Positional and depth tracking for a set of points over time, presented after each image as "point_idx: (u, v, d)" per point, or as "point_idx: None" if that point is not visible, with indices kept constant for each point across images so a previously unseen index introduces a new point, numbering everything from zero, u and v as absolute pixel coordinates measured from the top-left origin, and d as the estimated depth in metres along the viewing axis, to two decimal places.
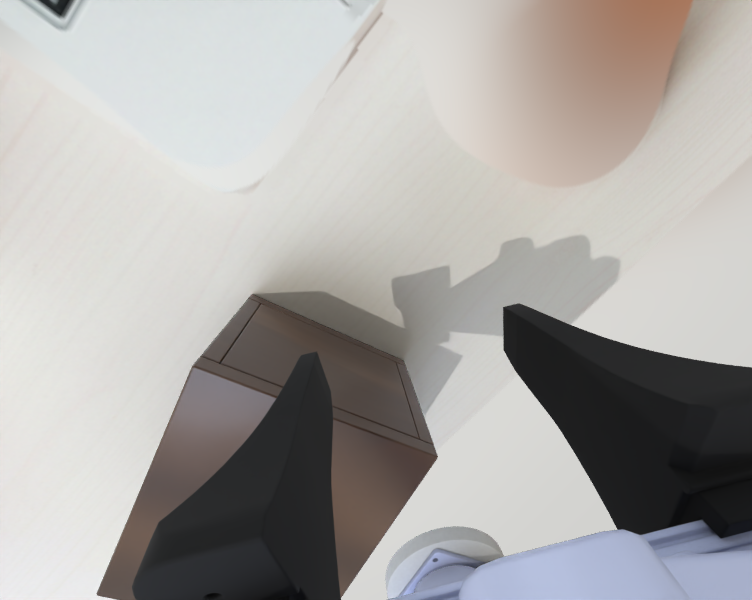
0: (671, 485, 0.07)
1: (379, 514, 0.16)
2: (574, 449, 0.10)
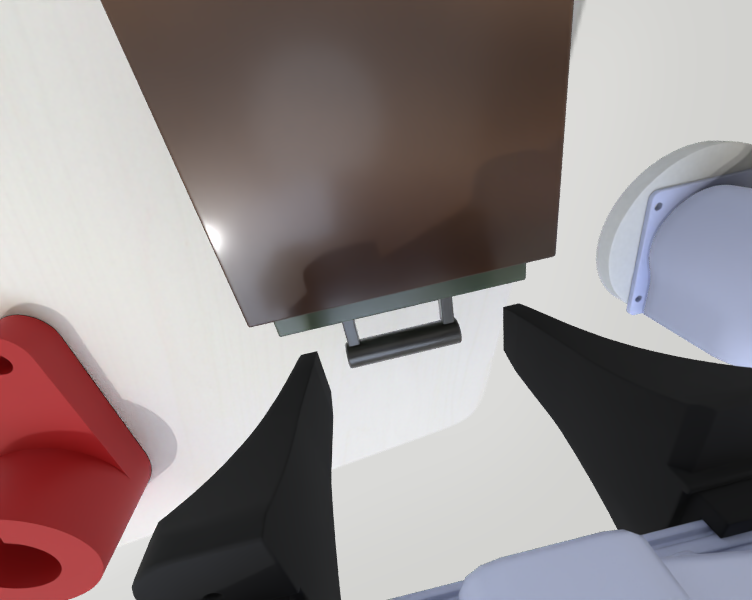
0: (671, 485, 0.07)
1: None
2: (574, 449, 0.10)
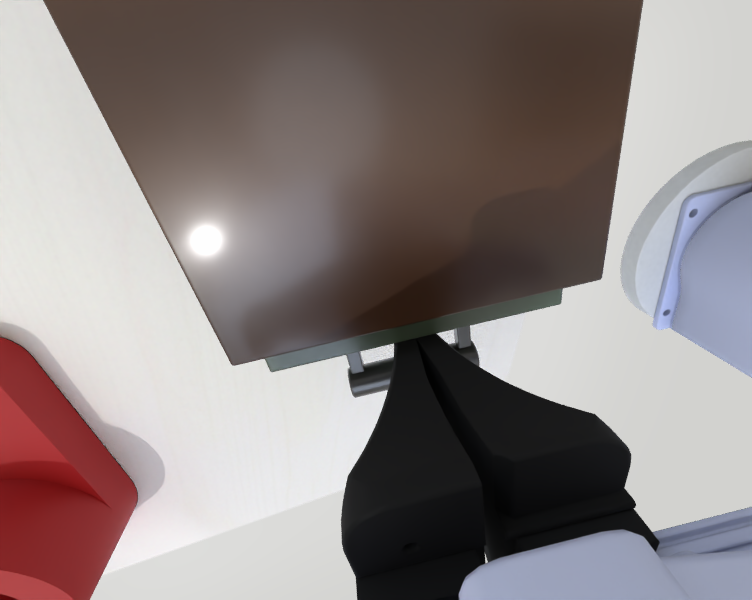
0: (499, 528, 0.07)
1: None
2: None
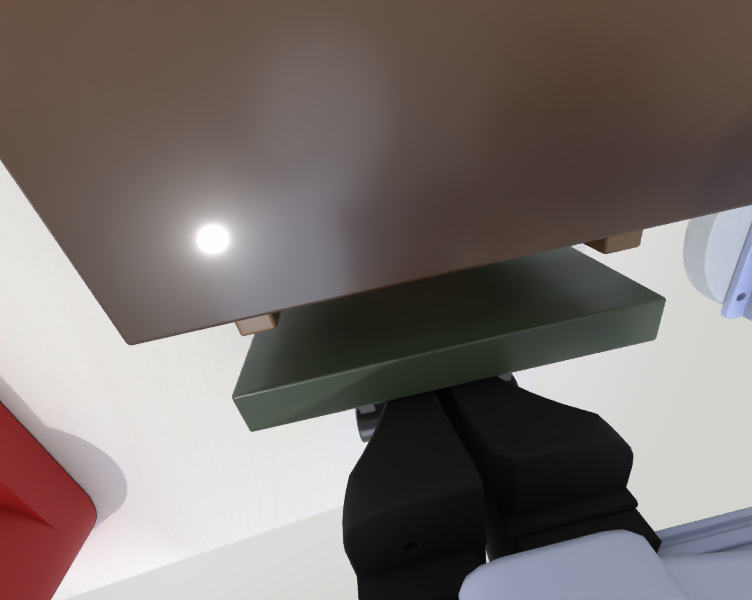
0: (501, 528, 0.07)
1: None
2: None
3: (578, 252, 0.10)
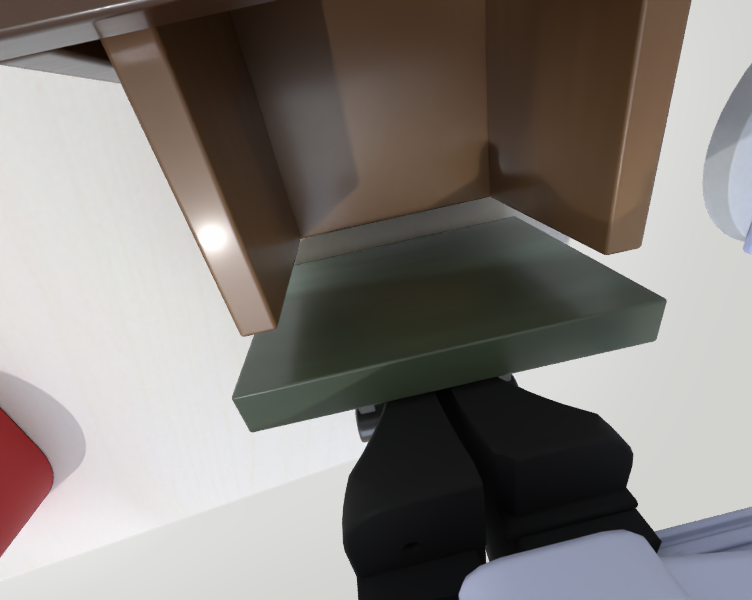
0: (501, 528, 0.07)
1: None
2: None
3: (579, 252, 0.10)
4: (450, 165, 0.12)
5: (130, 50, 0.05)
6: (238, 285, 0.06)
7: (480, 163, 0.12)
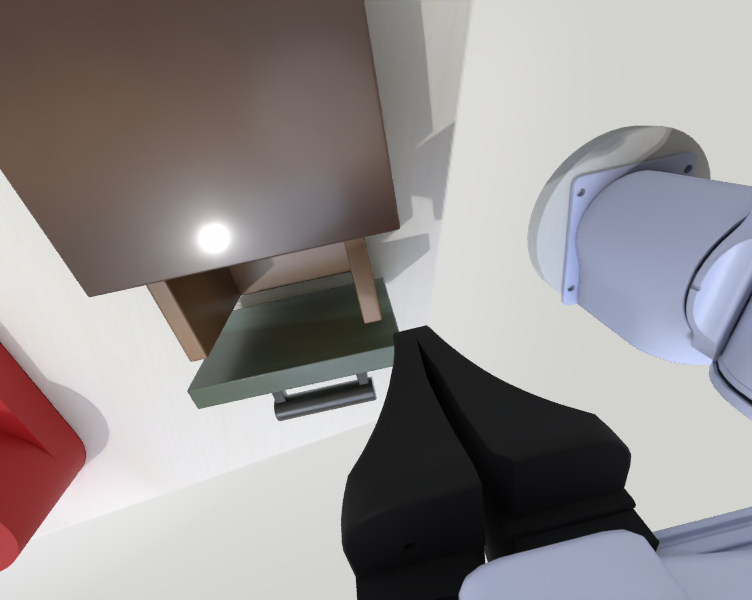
0: (499, 529, 0.07)
1: None
2: None
3: (392, 310, 0.18)
4: (328, 254, 0.19)
5: None
6: (187, 339, 0.14)
7: (347, 252, 0.20)
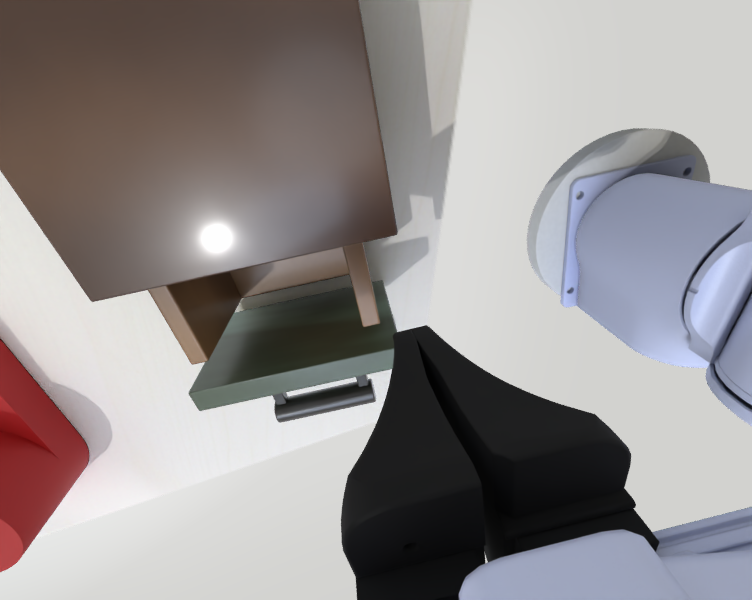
0: (499, 528, 0.07)
1: None
2: None
3: (391, 313, 0.18)
4: (328, 257, 0.20)
5: None
6: (188, 342, 0.14)
7: None
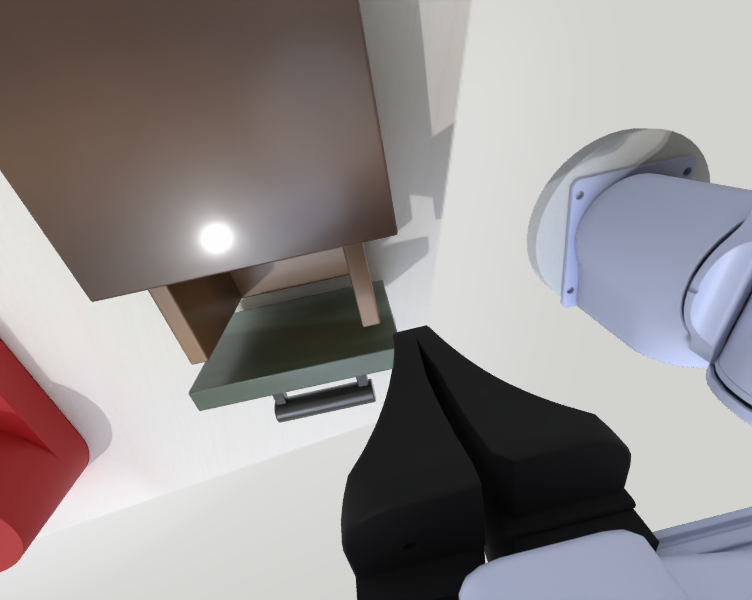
0: (499, 528, 0.07)
1: None
2: None
3: (391, 313, 0.18)
4: (328, 257, 0.20)
5: None
6: (188, 342, 0.14)
7: None
